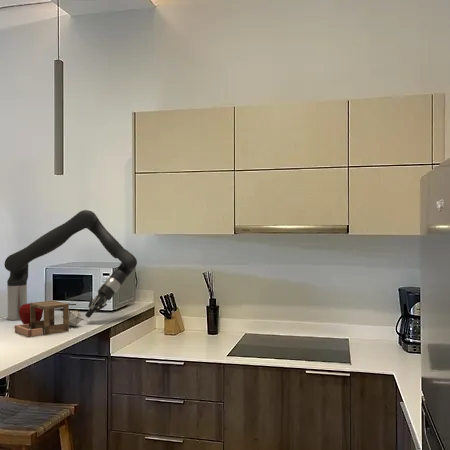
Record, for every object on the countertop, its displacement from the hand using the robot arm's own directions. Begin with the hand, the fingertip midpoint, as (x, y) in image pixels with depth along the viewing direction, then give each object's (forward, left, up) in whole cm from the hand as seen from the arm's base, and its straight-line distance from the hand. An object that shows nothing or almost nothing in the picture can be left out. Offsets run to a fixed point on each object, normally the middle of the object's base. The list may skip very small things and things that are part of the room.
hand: (87, 316), depth 244 cm
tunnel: (0, -19, -4) cm, 19 cm away
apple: (-16, -20, -4) cm, 26 cm away
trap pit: (0, -28, -4) cm, 29 cm away
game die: (0, -7, -4) cm, 8 cm away
